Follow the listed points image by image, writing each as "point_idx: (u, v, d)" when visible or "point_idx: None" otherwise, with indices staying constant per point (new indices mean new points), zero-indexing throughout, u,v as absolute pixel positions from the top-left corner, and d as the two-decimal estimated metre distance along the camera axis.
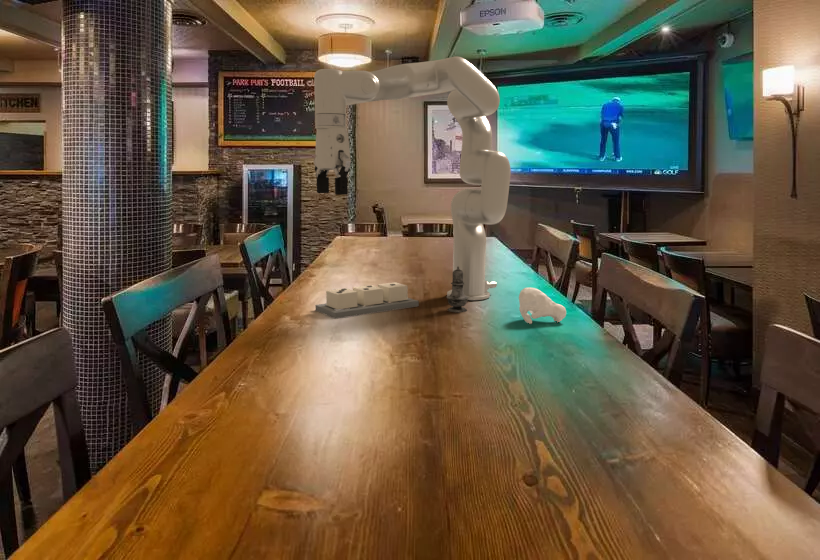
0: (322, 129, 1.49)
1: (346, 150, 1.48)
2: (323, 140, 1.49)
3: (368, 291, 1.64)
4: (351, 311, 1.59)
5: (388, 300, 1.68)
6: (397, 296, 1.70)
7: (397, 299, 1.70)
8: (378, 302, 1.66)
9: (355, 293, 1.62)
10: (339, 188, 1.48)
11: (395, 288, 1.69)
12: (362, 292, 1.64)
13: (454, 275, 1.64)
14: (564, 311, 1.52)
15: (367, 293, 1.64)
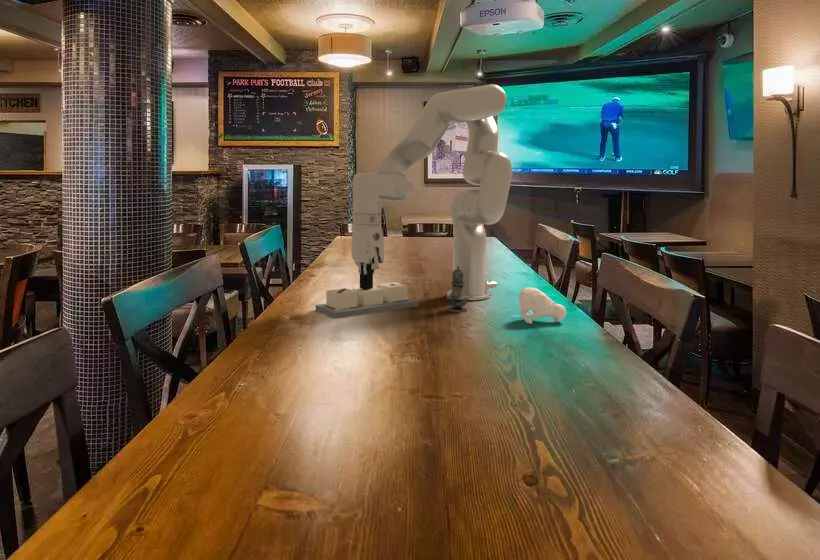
0: (359, 227, 1.62)
1: (381, 247, 1.62)
2: (360, 237, 1.62)
3: (368, 292, 1.64)
4: (351, 311, 1.59)
5: (388, 300, 1.68)
6: (397, 296, 1.70)
7: (397, 299, 1.70)
8: (378, 303, 1.66)
9: (355, 293, 1.62)
10: (365, 283, 1.65)
11: (395, 288, 1.69)
12: (362, 293, 1.64)
13: (454, 275, 1.64)
14: (564, 311, 1.52)
15: (367, 294, 1.64)
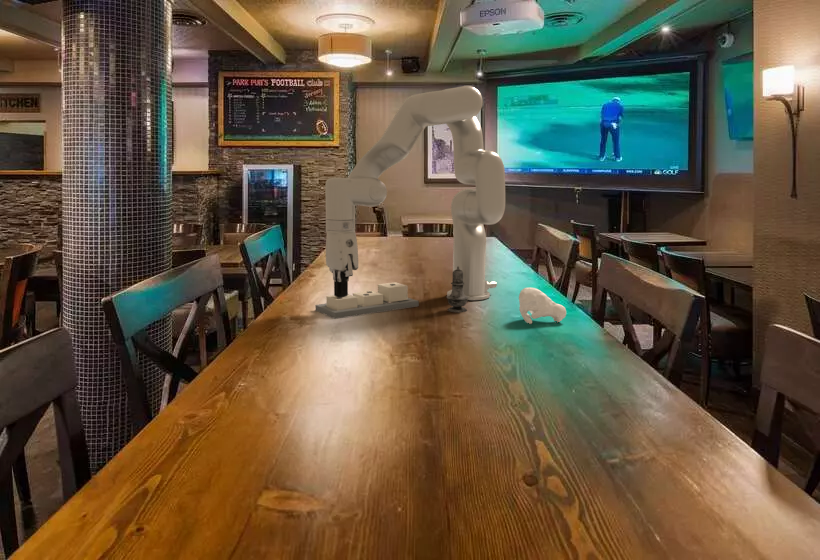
0: (332, 233, 1.58)
1: (355, 253, 1.57)
2: (333, 243, 1.58)
3: (368, 297, 1.64)
4: (351, 311, 1.59)
5: (388, 300, 1.68)
6: (397, 296, 1.70)
7: (397, 299, 1.70)
8: None
9: (355, 299, 1.62)
10: (340, 291, 1.61)
11: (395, 288, 1.69)
12: (362, 298, 1.64)
13: (454, 275, 1.64)
14: (564, 311, 1.52)
15: (367, 299, 1.64)
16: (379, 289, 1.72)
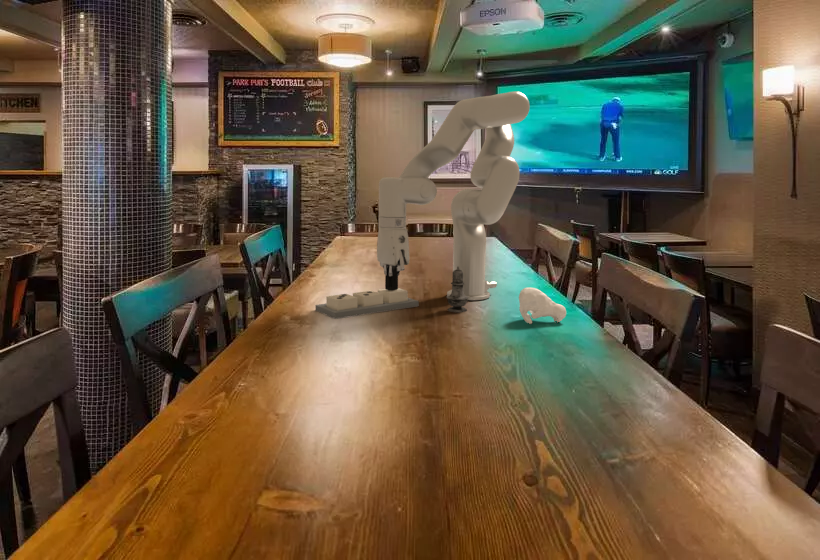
0: (385, 230, 1.67)
1: (406, 249, 1.66)
2: (386, 239, 1.67)
3: (368, 297, 1.64)
4: (351, 311, 1.59)
5: None
6: (397, 301, 1.70)
7: None
8: None
9: (355, 299, 1.62)
10: (391, 285, 1.70)
11: (395, 293, 1.69)
12: (362, 298, 1.64)
13: (454, 275, 1.64)
14: (564, 311, 1.52)
15: (367, 299, 1.64)
16: None
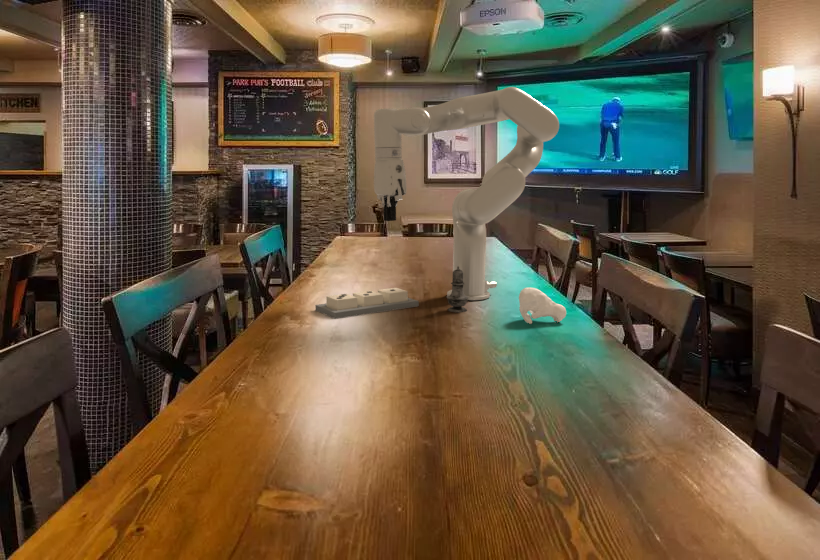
0: (382, 161, 1.71)
1: (403, 178, 1.70)
2: (383, 170, 1.71)
3: (368, 297, 1.64)
4: (351, 311, 1.59)
5: None
6: None
7: None
8: None
9: (355, 299, 1.62)
10: (389, 215, 1.74)
11: (395, 294, 1.69)
12: (362, 298, 1.64)
13: (454, 275, 1.64)
14: (564, 311, 1.52)
15: (367, 299, 1.64)
16: None
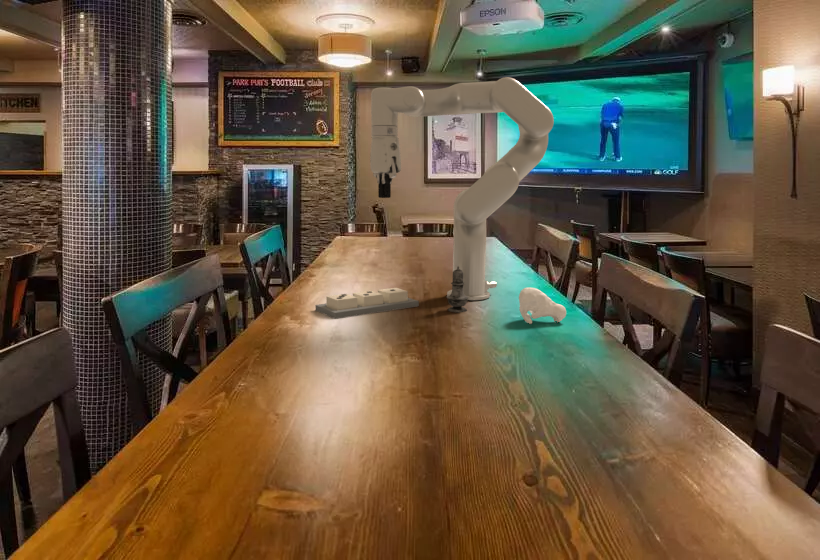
0: (377, 138, 1.75)
1: (398, 156, 1.75)
2: (378, 148, 1.75)
3: (368, 297, 1.64)
4: (351, 311, 1.59)
5: None
6: None
7: None
8: None
9: (355, 299, 1.62)
10: (384, 192, 1.78)
11: (395, 294, 1.69)
12: (362, 298, 1.64)
13: (454, 275, 1.64)
14: (564, 311, 1.52)
15: (367, 299, 1.64)
16: None
